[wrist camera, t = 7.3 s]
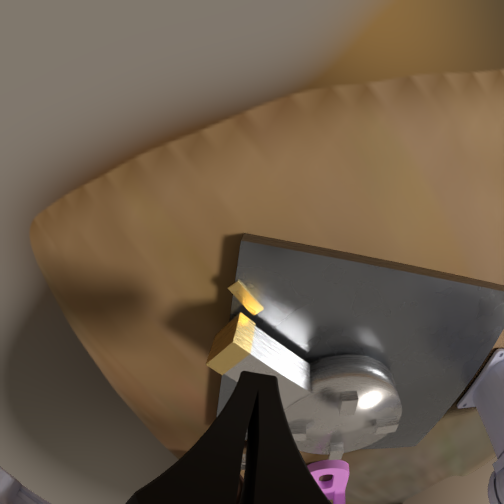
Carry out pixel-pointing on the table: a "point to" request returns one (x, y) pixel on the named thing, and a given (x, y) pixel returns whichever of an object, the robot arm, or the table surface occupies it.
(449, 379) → the plate
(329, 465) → the bracket
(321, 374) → the silver disc with handle
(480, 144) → the table surface
